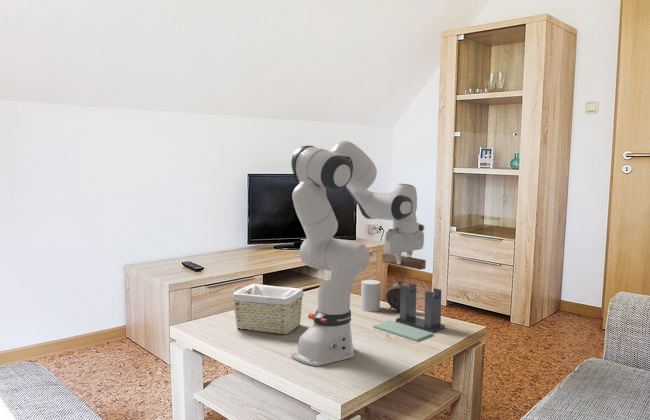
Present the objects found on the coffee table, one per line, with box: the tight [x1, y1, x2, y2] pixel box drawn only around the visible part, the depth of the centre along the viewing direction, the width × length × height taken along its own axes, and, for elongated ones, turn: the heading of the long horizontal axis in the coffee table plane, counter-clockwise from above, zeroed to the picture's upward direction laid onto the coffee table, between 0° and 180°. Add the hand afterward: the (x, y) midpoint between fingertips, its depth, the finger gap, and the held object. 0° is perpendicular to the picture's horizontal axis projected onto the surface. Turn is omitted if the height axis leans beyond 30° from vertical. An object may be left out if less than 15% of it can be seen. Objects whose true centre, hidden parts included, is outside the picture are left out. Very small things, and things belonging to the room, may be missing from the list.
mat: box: [372, 319, 434, 342], centre depth 204 cm, size 10×21×1 cm, turn 43°
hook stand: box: [395, 282, 446, 334], centre depth 211 cm, size 8×18×15 cm, turn 43°
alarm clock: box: [385, 274, 409, 314], centre depth 229 cm, size 11×5×16 cm, turn 63°
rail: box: [381, 253, 427, 271], centre depth 201 cm, size 3×18×3 cm, turn 44°
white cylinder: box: [360, 279, 381, 313], centre depth 233 cm, size 8×8×12 cm
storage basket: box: [232, 283, 304, 335], centre depth 209 cm, size 24×16×15 cm
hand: (403, 263), depth 202 cm, fingers closed on rail, 3 cm apart
